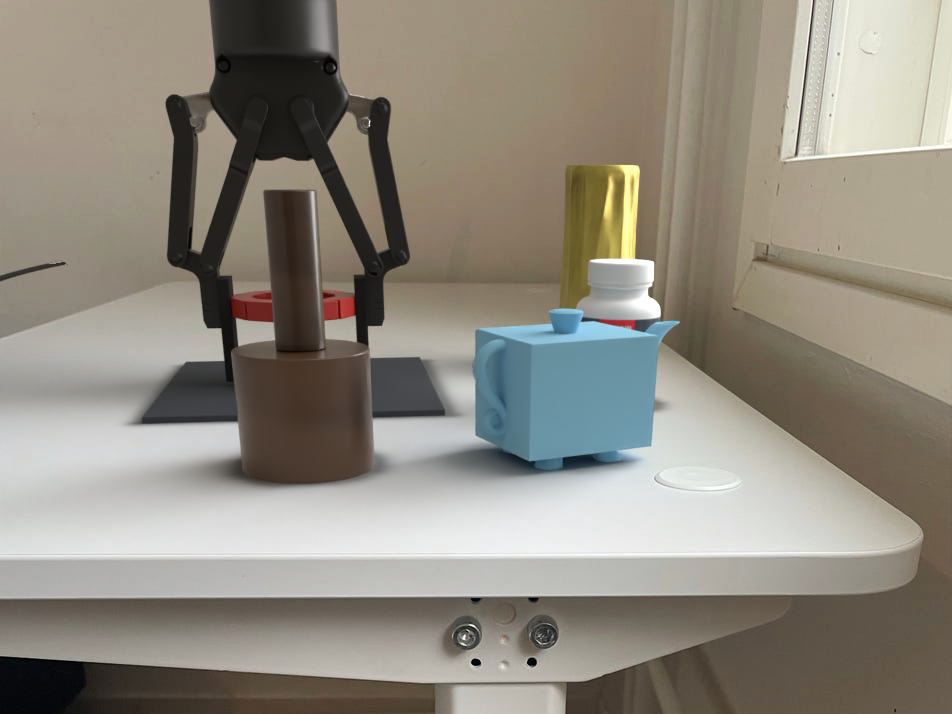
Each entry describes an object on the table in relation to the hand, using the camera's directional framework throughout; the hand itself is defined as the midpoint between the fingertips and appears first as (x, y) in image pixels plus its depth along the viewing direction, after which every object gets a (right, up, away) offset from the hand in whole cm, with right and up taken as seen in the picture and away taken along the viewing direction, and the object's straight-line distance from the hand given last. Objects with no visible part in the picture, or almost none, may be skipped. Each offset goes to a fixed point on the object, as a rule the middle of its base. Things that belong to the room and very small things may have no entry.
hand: (299, 376), depth 70 cm
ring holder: (+4, -9, -18) cm, 21 cm away
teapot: (+18, -8, -16) cm, 25 cm away
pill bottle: (+21, -3, -4) cm, 22 cm away
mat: (0, -1, 0) cm, 1 cm away
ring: (0, +4, -2) cm, 4 cm away
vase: (+21, +3, +8) cm, 23 cm away
